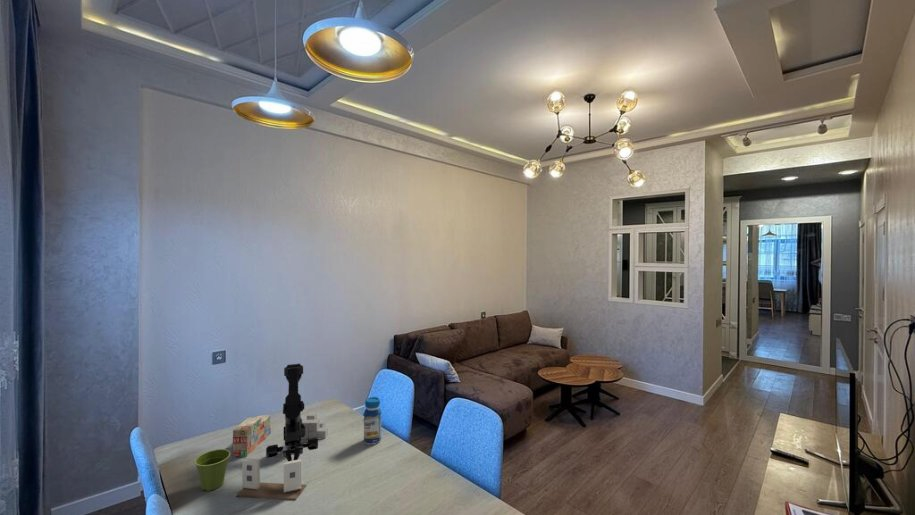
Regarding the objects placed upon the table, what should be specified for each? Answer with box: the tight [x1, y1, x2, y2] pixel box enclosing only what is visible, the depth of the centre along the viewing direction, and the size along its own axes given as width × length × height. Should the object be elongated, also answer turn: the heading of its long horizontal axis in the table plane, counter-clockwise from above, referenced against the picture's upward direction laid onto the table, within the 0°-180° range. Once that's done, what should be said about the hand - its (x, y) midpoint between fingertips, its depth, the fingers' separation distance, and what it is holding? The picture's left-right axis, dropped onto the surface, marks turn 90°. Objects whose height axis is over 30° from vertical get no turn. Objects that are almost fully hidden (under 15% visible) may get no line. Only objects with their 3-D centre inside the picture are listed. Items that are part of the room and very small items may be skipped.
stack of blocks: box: [232, 414, 272, 458], centre depth 177 cm, size 21×6×12 cm, turn 0°
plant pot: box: [193, 448, 232, 492], centre depth 146 cm, size 12×12×11 cm
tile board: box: [235, 482, 307, 501], centre depth 143 cm, size 8×23×1 cm, turn 86°
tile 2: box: [241, 457, 261, 489], centre depth 143 cm, size 2×6×11 cm, turn 83°
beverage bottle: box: [363, 396, 383, 445], centre depth 181 cm, size 8×8×20 cm
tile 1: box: [283, 458, 302, 493], centre depth 142 cm, size 2×6×11 cm, turn 113°
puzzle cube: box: [301, 412, 329, 440], centre depth 188 cm, size 12×12×8 cm
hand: (292, 470), depth 144 cm, fingers closed
